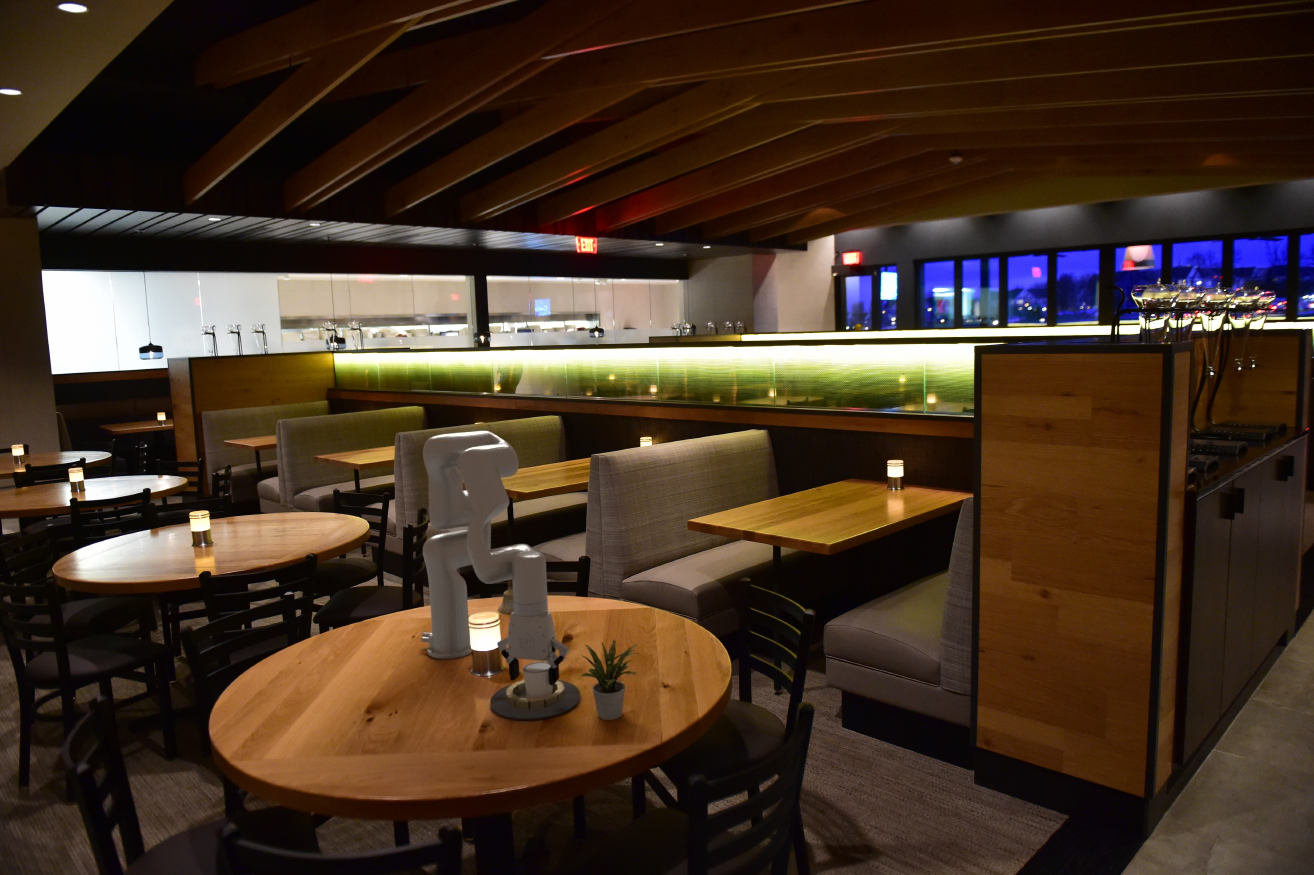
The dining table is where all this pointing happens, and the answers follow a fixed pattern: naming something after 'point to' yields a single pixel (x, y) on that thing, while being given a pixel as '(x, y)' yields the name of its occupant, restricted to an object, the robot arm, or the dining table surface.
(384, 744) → the dining table surface
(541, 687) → the gray tapered cylinder
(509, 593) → the hand bell
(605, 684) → the house plant
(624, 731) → the dining table surface
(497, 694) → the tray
